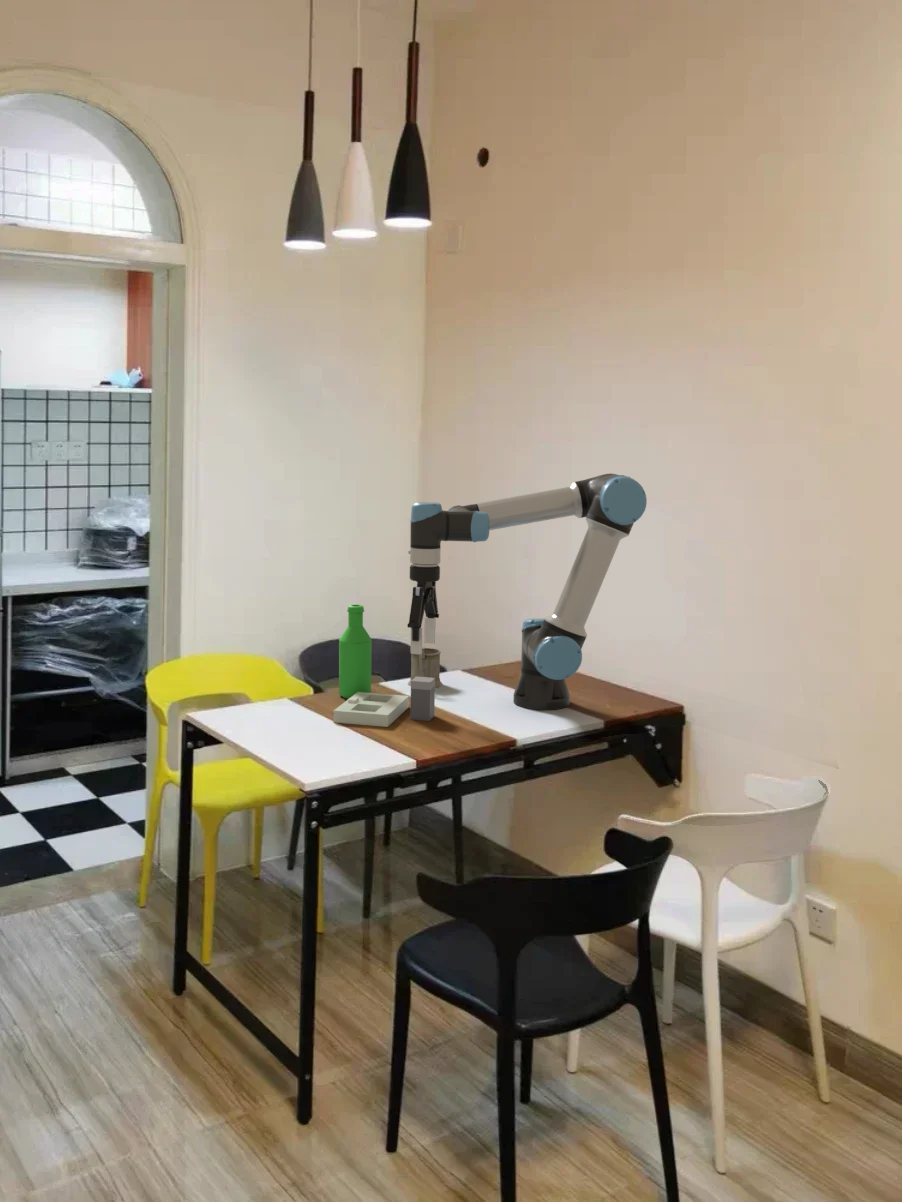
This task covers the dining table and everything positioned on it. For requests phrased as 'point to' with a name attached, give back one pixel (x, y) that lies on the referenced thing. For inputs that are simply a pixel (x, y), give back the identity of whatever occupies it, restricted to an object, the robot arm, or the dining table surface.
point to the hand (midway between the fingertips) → (423, 648)
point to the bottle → (355, 655)
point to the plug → (422, 698)
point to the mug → (426, 665)
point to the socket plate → (371, 709)
